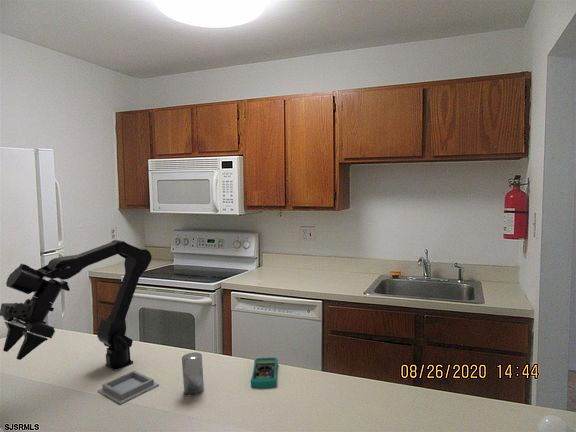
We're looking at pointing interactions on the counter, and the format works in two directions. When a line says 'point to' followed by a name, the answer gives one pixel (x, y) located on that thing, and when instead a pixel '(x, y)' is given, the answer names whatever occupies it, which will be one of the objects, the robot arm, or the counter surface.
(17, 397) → the counter surface
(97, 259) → the robot arm
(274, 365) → the digital multimeter
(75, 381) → the counter surface
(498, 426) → the counter surface
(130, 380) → the holder
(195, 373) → the metal cylinder
